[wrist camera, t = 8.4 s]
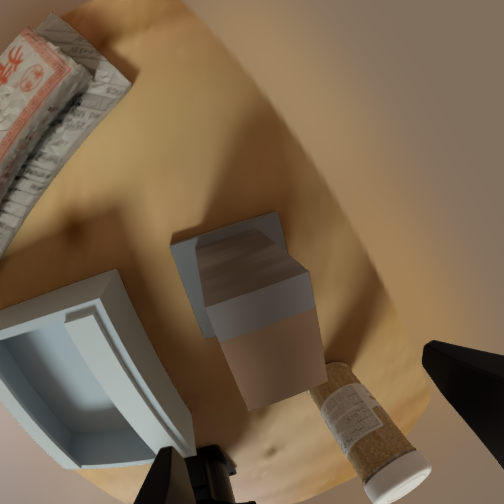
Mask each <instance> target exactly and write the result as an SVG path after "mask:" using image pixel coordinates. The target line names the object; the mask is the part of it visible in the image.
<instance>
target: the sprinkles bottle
mask: <svg viewBox="0 0 504 504" xmlns="http://www.w3.org/2000/svg"><path fill="white" fill-rule="evenodd" d="M326 371H327V378H328V381H327V382H325V383H323V384H321V385H318V386H316V387H314V388H311V389H309V390H307V393H308V395H309V396H310V397H311V398H312V399H313V400H314V402H315V404H316V405H317V407H318V408H319V410H320V412H321V416H322V417H323V419H324V421H325V423H326V424H327V426H328V428H329V429H330V431H331V433H332V434H333V436H334V438H335V439H336V441H337V443H338V444H339V446H340V448H341V449H342V451H343V453H344V454H345V456H346V458H347V459H348V460H349V461H350V462H351V464H352V465H353V467H354V469H355V470H356V472H357V474H358V476H359V477H360V479H361V480H362V482H363V485H364V486H365V488H364V490H365V492H366V493H367V495H368V497H369V498H370V499H371V501H372V502H373V504H389V503H392V502H394V501H396V500H398V499H399V498H401V497H403V496H404V495H406V494H407V493H408V492H410V491H411V490H413V489H414V488H415V487H416V486H418V485H419V484H420V483H421V482H422V481H423V480H424V479H425V478H426V477H427V476H428V475H429V473H430V472H431V469H432V465H431V464H430V462H429V461H428V460H427V459H426V457H425V456H424V455H423V454H422V453H421V451H418V450H416V448H414V447H413V446H412V445H411V443H409V441H408V440H407V439H406V437H405V436H404V435H403V434H402V433H401V431H400V430H399V429H398V427H397V426H396V425H395V424H394V423H393V421H392V420H391V418H390V417H389V415H388V414H387V413H386V411H385V410H384V409H383V408H382V407H381V405H380V404H379V403H378V402H377V401H376V399H375V398H374V397H373V396H372V394H371V393H370V392H369V391H368V389H367V388H366V387H365V386H364V385H362V384H361V382H360V381H359V380H358V379H357V378H356V376H355V375H354V374H353V373H352V370H351V368H350V367H349V366H348V365H347V364H345V363H343V362H332V363H329V364H326Z"/></svg>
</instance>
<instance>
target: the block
mask: <svg viewBox="0 0 504 504" xmlns="http://www.w3.org/2000/svg"><path fill="white" fill-rule="evenodd" d="M195 252H196V258H197V264H198V270H199V276H200V282H201V288H202V293H203V299H204V304H205V309H206V311H207V314H208V316H209V319H210V321H211V324H212V326H213V329H214V331H215V334H216V336H217V339H218V341H219V344H220V346H221V348H222V351H223V353H224V356H225V358H226V360H227V363H228V365H229V367H230V370H231V372H232V374H233V377H234V379H235V381H236V383H237V386H238V388H239V390H240V392H241V395H242V397H243V399H244V401H245V404H246V406H247V408H248V410H249V412H250V411H253V410H256V409H259V408H262V407H265V406H267V405H270V404H273V403H276V402H278V401H281V400H284V399H286V398H289V397H292V396H294V395H297V394H299V393H302V392H304V391H306V390H309V389H311V388H314V387H316V386H318V385H321V384H323V383H325V382H327V381H328V378H327V371H326V365H325V358H324V352H323V346H322V340H321V334H320V328H319V323H318V317H317V312H316V306H315V301H314V296H313V290H312V285H311V280H310V275H309V271H308V270H306V269H305V268H304V267H303V266H302V265H301V264H299V263H298V262H297V261H296V260H295V259H293V258H292V257H291V256H290V255H289V254H287V253H286V252H285V251H284V250H283V249H281V248H280V247H279V246H278V245H277V244H275V243H274V242H273V241H272V240H271V239H269V238H268V237H267V236H266V235H265V234H263V233H262V232H261V231H260V230H259V229H257V228H255V229H252V230H249V231H246V232H243V233H240V234H236V235H233V236H230V237H227V238H224V239H221V240H218V241H215V242H212V243H209V244H206V245H203V246H200V247H197V248H195Z"/></svg>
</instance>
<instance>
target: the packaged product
mask: <svg viewBox="0 0 504 504" xmlns="http://www.w3.org/2000/svg"><path fill="white" fill-rule="evenodd" d="M131 86H132V83H131V82H130V81H129V80H128V79H127V78H126V77H125V76H124V75H123V74H122V73H121V72H120V71H119V70H118V69H117V68H116V67H115V66H114V65H113V64H112V63H110V62H109V61H108V60H107V59H106V58H105V57H104V56H103V55H101V54H100V53H99V52H98V51H97V50H96V49H95V48H94V47H93V46H92V45H91V44H90V43H89V42H88V41H87V40H86V39H85V38H84V37H83V36H82V35H80V34H79V33H78V32H77V31H76V30H75V29H74V28H72V27H71V26H70V25H69V24H67V23H66V22H65V21H64V20H62V19H61V18H60V17H59V16H57V15H56V14H55V13H53V12H52V13H51V14H50V15H49V16H48V17H47V18H46V19H45V20H44V21H43V22H42V23H41V24H40V25H39V26H38V27H37V28H36V29H33V28H30V27H29V26H28V27H26V28H25V29H24V30H23V31H22V32H21V33H20V34H19V35H18V36H17V37H16V39H14V40H13V42H12V43H11V44H10V45H9V46H8V47H7V48H6V50H5V51H4V52H3V53H2V54H1V55H0V260H1V258H2V256H3V254H4V252H5V251H6V249H7V247H8V246H9V244H10V243H11V241H12V239H13V238H14V236H15V235H16V233H17V232H18V230H19V229H20V227H21V226H22V224H23V222H24V221H25V219H26V217H27V216H28V214H29V213H30V211H31V210H32V208H33V207H34V205H35V204H36V203H37V201H38V200H39V198H40V197H41V196H42V194H43V193H44V192H45V190H46V189H47V188H48V186H49V185H50V183H51V182H52V181H53V179H54V178H55V177H56V175H57V174H58V173H59V171H60V170H61V169H62V168H63V166H64V165H65V164H66V162H67V161H68V160H69V159H70V157H71V156H72V155H73V154H74V153H75V152H76V150H77V149H78V148H79V147H80V145H81V144H82V143H83V142H84V140H85V139H86V138H87V137H88V136H89V135H90V133H91V132H92V131H93V130H94V129H95V128H96V126H97V125H98V124H99V123H100V122H101V121H102V120H103V119H104V118H105V116H106V115H107V114H108V113H109V112H110V111H111V110H112V109H113V108H114V107H115V106H116V105H117V104H118V103H119V102H120V101H121V100H122V98H123V97H124V96H125V95H126V94H127V93H128V92H129V91H130V89H131Z"/></svg>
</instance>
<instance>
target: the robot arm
mask: <svg viewBox="0 0 504 504" xmlns="http://www.w3.org/2000/svg"><path fill="white" fill-rule="evenodd" d="M422 365H423V367H424V369H425V370H426V371H427V373H428V374H429V375H430V377H431V379H432V380H433V381H434V383H435V384H436V386H437V387H438V389H439V390H440V392H441V393H442V394H443V396H444V397H445V398H446V399H447V401H448V402H449V403H450V404H451V405H452V406H453V407H454V409H455V410H456V411H457V412H458V413H459V415H460V416H461V417H462V418H463V419H464V420H465V422H466V423H467V424H468V425H469V427H470V428H471V429H472V430H473V431H474V433H475V434H476V435H477V436H478V437H479V439H480V440H481V441H482V442H483V443H484V445H485V446H486V447H487V449H488V450H489V451H490V452H491V454H492V455H493V456H494V457H495V459H496V460H497V461H498V463H499V464H500V465H501V467H502V468H503V469H504V355H499V354H494V353H489V352H485V351H480V350H476V349H471V348H467V347H462V346H457V345H453V344H449V343H445V342H441V341H436V340H432V341H430V342H429V343H427V344H426V345H425V346H424V348H423V356H422ZM196 454H197V455H195V456H190V457H185V458H183V457H182V456H181V455H180V454H179V452H178V451H177V450H176V449H175V448H174V447H173V446H166V447H162V448H160V449H159V451H158V453H157V456H156V458H155V460H154V462H153V464H152V466H151V468H150V470H149V472H148V474H147V476H146V479H145V481H144V483H143V485H142V487H141V489H140V491H139V493H138V495H137V497H136V499H135V502H134V504H256V502H255V501H249V502H245V503H236V502H235V498H234V495H233V491H232V487H231V483H230V479H229V476H232V475H235V474H236V469H235V468H234V467H233V465H232V464H231V462H230V461H229V460H228V458H227V457H226V455H225V454H224V452H223V451H222V450H221V448H220V447H219V446H217V445H214V446H210V447H205V448H201V449H197V450H196Z"/></svg>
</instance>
